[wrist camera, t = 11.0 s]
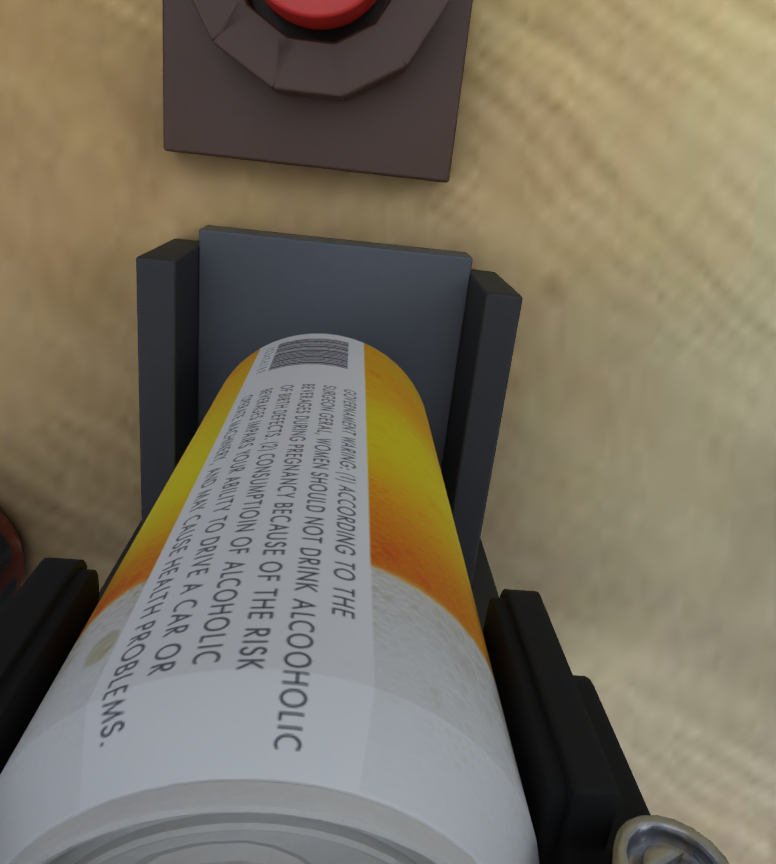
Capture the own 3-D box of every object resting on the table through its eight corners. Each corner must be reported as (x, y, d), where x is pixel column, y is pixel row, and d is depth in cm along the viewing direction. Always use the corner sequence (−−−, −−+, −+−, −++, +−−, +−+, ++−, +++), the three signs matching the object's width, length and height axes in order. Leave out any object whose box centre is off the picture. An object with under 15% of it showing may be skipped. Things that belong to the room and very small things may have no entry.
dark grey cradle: (148, 650, 27) (-45, 1109, 14) (139, 217, 21) (-200, 324, 8) (457, 669, 28) (543, 1116, 15) (529, 259, 22) (771, 413, 9)
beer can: (243, 535, 22) (41, 1219, 8) (192, 345, 20) (-220, 833, 6) (438, 504, 22) (585, 1144, 8) (409, 309, 19) (542, 716, 5)
